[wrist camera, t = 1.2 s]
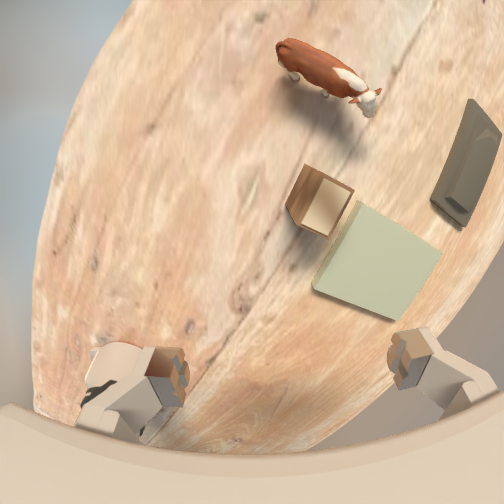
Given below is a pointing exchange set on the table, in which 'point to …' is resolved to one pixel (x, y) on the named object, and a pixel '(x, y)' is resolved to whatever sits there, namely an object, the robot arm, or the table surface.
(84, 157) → the table surface
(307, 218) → the block
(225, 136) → the table surface
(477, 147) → the soap mold
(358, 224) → the board
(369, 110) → the bull figurine
